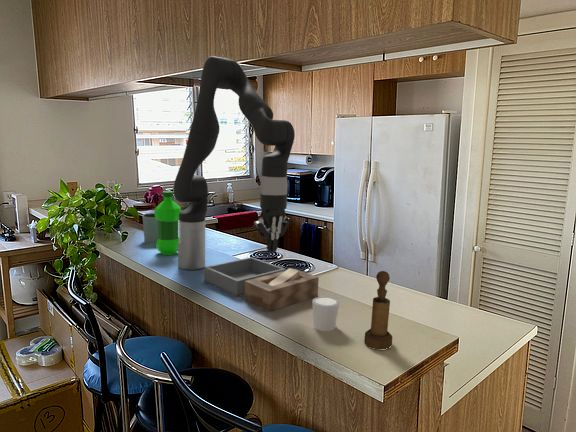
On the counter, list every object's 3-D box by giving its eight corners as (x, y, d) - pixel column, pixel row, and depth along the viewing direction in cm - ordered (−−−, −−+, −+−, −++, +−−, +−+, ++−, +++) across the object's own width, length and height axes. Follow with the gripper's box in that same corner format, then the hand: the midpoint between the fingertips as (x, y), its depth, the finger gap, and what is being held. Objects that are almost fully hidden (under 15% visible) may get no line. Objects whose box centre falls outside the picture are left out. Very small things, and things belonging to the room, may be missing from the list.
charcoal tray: (237, 297, 133) (237, 281, 132) (204, 281, 146) (204, 267, 145) (285, 283, 147) (286, 269, 146) (251, 270, 159) (251, 257, 159)
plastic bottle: (175, 257, 173) (175, 194, 168) (150, 255, 174) (149, 192, 170) (186, 251, 182) (185, 191, 178) (162, 249, 184) (161, 189, 180)
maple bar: (272, 299, 128) (270, 292, 127) (263, 295, 131) (261, 288, 130) (300, 277, 135) (298, 271, 134) (291, 274, 138) (289, 267, 137)
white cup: (318, 334, 110) (320, 307, 109) (306, 323, 116) (307, 297, 115) (342, 330, 113) (344, 304, 111) (329, 319, 119) (331, 294, 118)
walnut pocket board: (268, 311, 123) (269, 291, 122) (244, 300, 131) (244, 281, 129) (317, 295, 136) (318, 277, 135) (292, 286, 144) (293, 268, 143)
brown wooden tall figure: (392, 352, 102) (398, 277, 99) (363, 348, 103) (368, 274, 100) (391, 339, 108) (397, 268, 105) (364, 336, 110) (369, 266, 106)
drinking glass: (155, 237, 204) (155, 212, 202) (171, 240, 199) (171, 214, 197) (137, 241, 195) (137, 215, 193) (154, 245, 190) (153, 217, 188)
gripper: (282, 189, 132) (280, 245, 135) (247, 192, 123) (245, 252, 126) (299, 192, 126) (297, 250, 129) (264, 195, 117) (262, 258, 120)
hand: (271, 251), depth 128 cm, fingers closed
